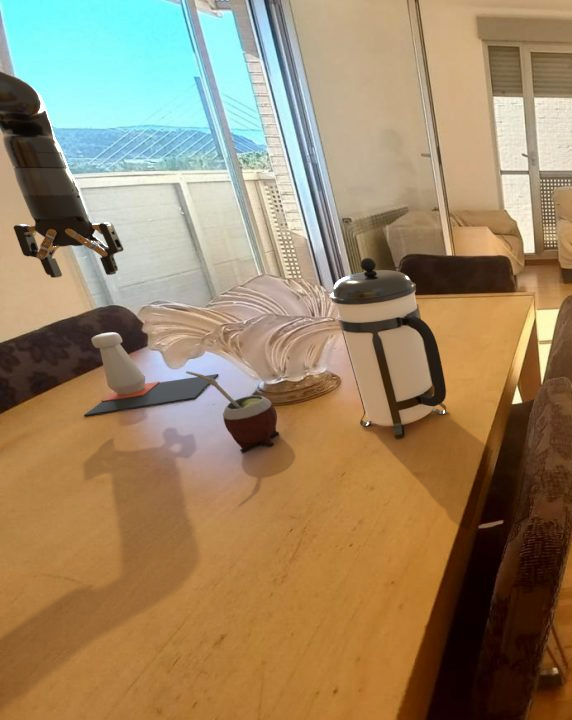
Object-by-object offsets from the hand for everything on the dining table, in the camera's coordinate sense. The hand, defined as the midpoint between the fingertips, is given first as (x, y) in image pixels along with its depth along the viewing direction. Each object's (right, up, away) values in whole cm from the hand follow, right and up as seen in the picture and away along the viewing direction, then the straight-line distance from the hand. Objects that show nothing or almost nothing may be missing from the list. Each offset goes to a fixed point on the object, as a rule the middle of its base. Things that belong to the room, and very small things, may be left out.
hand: (84, 275), depth 98 cm
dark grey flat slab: (+11, -25, +4) cm, 28 cm away
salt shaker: (+5, -24, +5) cm, 25 cm away
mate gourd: (+48, -32, -16) cm, 60 cm away
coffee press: (+72, -29, -10) cm, 79 cm away
